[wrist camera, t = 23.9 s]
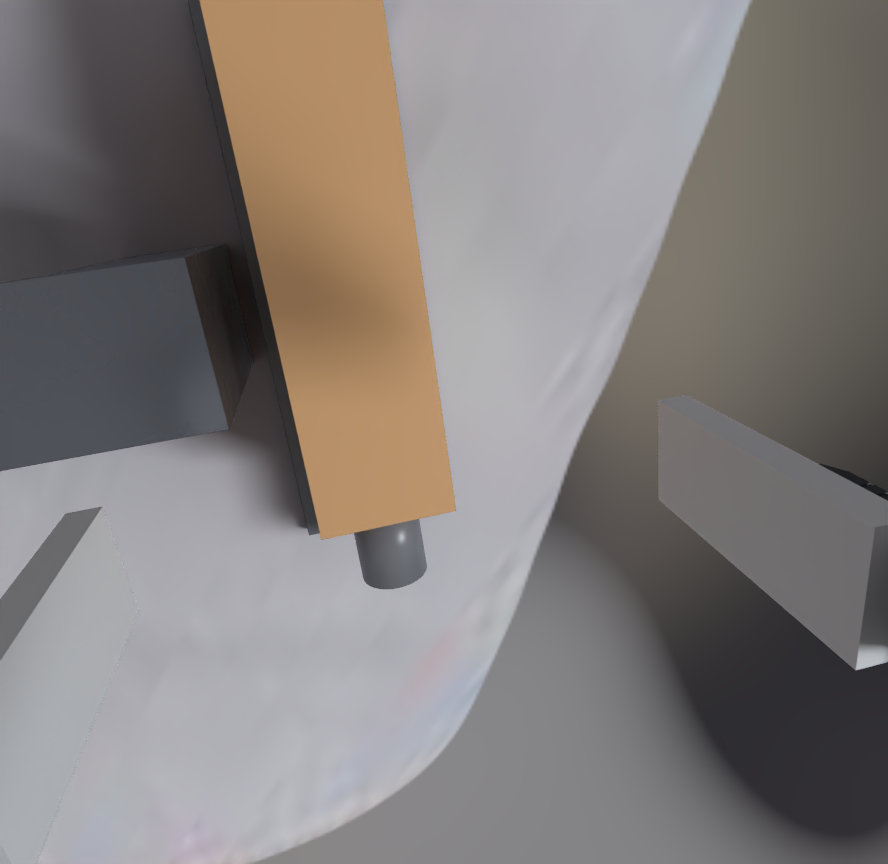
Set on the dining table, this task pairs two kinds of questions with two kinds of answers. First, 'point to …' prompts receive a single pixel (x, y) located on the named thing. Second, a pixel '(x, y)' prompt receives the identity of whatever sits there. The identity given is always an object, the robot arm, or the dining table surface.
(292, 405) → the plug
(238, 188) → the mat
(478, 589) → the dining table surface
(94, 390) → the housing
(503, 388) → the dining table surface
